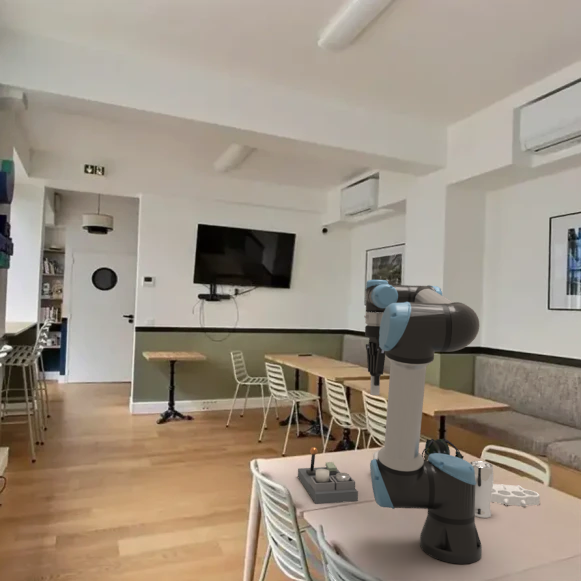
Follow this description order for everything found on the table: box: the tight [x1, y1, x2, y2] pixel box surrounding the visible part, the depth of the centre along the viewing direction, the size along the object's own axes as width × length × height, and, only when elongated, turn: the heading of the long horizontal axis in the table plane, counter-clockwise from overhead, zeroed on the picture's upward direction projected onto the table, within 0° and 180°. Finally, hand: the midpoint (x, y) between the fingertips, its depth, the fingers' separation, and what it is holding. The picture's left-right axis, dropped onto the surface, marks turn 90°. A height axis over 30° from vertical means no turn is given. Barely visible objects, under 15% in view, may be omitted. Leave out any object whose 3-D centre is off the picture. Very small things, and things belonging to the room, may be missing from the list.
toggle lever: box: [309, 446, 319, 471], centre depth 169 cm, size 3×3×9 cm
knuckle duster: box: [490, 483, 540, 507], centre depth 160 cm, size 3×18×15 cm
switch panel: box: [297, 466, 359, 505], centre depth 165 cm, size 24×14×6 cm, turn 13°
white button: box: [316, 469, 329, 483], centre depth 158 cm, size 4×4×3 cm
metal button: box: [336, 472, 351, 482], centre depth 159 cm, size 4×4×3 cm
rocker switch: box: [324, 461, 338, 471], centre depth 172 cm, size 4×3×1 cm, turn 13°
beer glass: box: [469, 460, 494, 519], centre depth 148 cm, size 7×7×15 cm
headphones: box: [421, 438, 464, 461], centre depth 192 cm, size 13×13×20 cm
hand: (374, 394), depth 164 cm, fingers closed
